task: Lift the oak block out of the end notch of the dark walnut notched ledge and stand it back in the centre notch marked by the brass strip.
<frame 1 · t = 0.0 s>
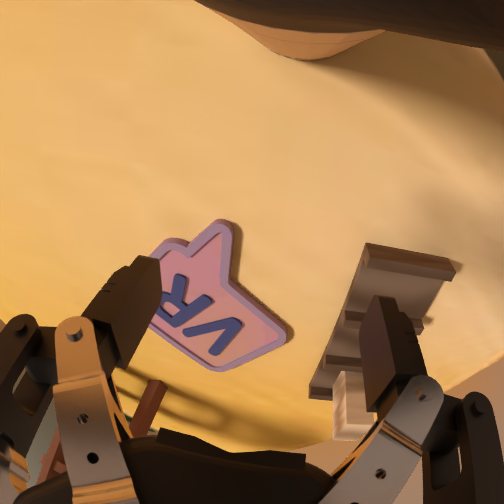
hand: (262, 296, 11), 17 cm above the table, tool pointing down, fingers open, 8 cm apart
icon: (213, 302, 37), on the table
oak block: (350, 377, 39), point 1 cm above the table, touching notched ledge
notched ledge: (370, 335, 35), on the table
stool: (126, 381, 53), on the table
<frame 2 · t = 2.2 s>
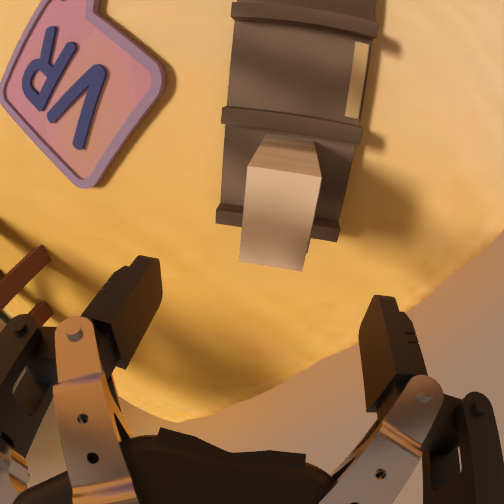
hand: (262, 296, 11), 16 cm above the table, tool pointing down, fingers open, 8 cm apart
icon: (83, 62, 21), on the table
oak block: (285, 171, 23), point 1 cm above the table, touching notched ledge
notched ledge: (298, 69, 20), on the table
stool: (17, 264, 37), on the table
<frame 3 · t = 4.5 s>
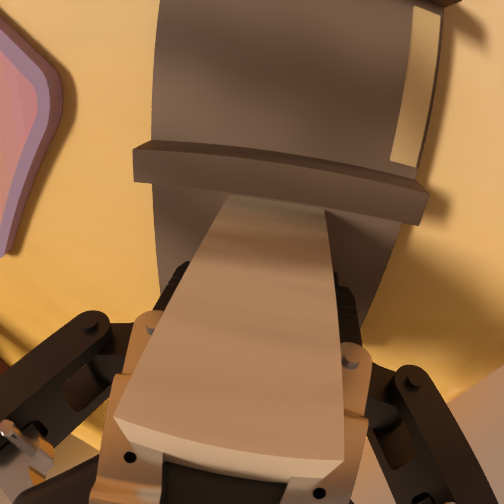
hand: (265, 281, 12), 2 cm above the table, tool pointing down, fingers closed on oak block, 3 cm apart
oak block: (267, 263, 13), point 1 cm above the table, touching gripper, notched ledge
notched ledge: (296, 58, 9), on the table
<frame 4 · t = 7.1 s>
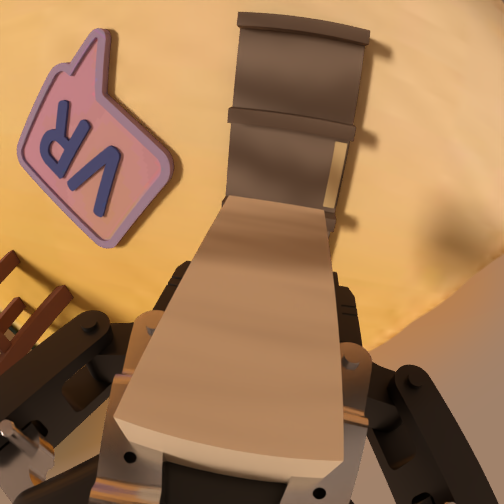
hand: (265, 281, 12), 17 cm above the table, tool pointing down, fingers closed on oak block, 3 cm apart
icon: (96, 137, 28), on the table
oak block: (267, 263, 13), point 16 cm above the table, touching gripper
notched ledge: (286, 163, 26), on the table
stool: (39, 297, 43), on the table
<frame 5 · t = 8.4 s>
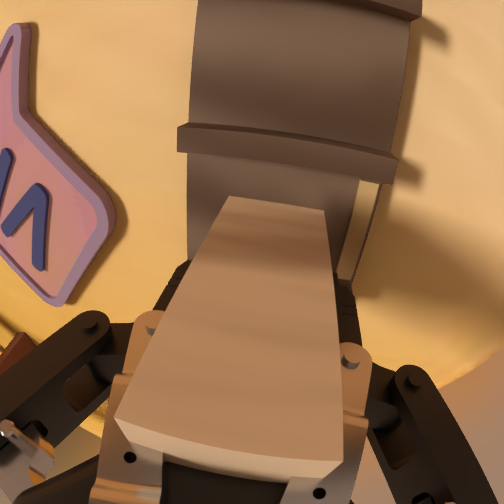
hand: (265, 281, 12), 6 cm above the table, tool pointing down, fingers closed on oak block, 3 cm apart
icon: (25, 169, 19), on the table
oak block: (267, 264, 13), point 5 cm above the table, touching gripper
notched ledge: (278, 211, 17), on the table
stool: (5, 338, 34), on the table
when the fingers open (3 cm above the table, at t = 9.7 s): oak block drops 1 cm, resting on notched ledge.
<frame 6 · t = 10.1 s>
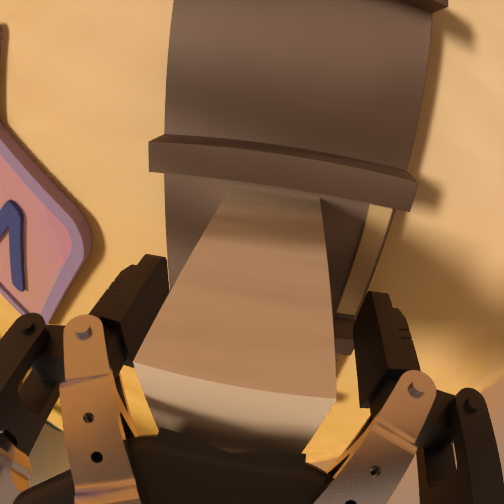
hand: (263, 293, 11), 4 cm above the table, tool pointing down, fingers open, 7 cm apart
icon: (1, 183, 16), on the table
oak block: (268, 248, 14), point 1 cm above the table, touching notched ledge
notched ledge: (273, 238, 15), on the table
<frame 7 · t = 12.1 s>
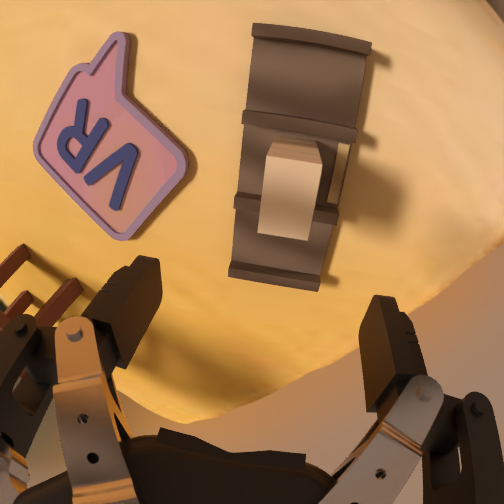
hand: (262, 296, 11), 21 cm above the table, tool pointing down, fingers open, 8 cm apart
icon: (114, 134, 30), on the table
oak block: (291, 165, 28), point 1 cm above the table, touching notched ledge
notched ledge: (293, 162, 29), on the table
stool: (49, 290, 45), on the table
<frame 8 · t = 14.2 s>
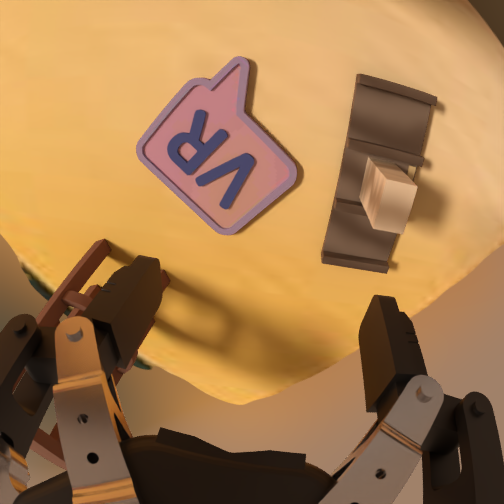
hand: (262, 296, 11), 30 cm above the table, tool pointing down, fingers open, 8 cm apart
icon: (227, 144, 39), on the table
oak block: (376, 180, 36), point 1 cm above the table, touching notched ledge
notched ledge: (376, 177, 37), on the table
stool: (126, 283, 54), on the table
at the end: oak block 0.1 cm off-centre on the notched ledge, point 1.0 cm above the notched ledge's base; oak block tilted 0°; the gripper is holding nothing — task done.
